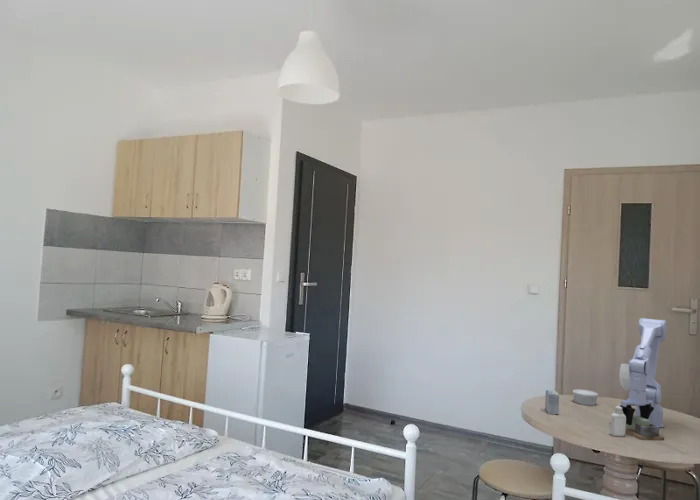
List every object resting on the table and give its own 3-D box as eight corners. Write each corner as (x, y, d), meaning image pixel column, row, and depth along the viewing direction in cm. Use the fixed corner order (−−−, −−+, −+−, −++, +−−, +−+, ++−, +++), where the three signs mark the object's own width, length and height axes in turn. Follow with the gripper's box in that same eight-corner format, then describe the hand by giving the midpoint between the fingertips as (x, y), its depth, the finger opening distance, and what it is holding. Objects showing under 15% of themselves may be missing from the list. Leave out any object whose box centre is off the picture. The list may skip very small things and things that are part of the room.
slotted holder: (631, 424, 216) (632, 414, 216) (664, 440, 198) (664, 428, 198) (609, 424, 215) (610, 413, 215) (640, 439, 197) (640, 427, 197)
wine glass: (636, 410, 240) (638, 365, 240) (634, 414, 234) (637, 367, 234) (618, 407, 244) (620, 362, 244) (616, 410, 238) (618, 365, 238)
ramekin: (575, 405, 244) (575, 393, 244) (569, 399, 255) (569, 388, 255) (600, 407, 242) (601, 396, 242) (593, 401, 253) (594, 390, 253)
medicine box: (558, 415, 225) (559, 394, 225) (547, 413, 226) (548, 393, 226) (555, 410, 232) (556, 390, 233) (544, 409, 233) (545, 389, 234)
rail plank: (628, 425, 212) (628, 412, 212) (649, 433, 202) (650, 420, 202) (622, 425, 211) (623, 413, 211) (643, 433, 201) (644, 420, 201)
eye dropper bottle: (626, 437, 198) (628, 406, 198) (610, 435, 200) (611, 404, 200) (624, 434, 202) (625, 403, 202) (608, 432, 204) (609, 401, 204)
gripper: (643, 386, 213) (641, 420, 212) (615, 387, 208) (613, 421, 208) (658, 391, 206) (656, 425, 206) (629, 391, 202) (628, 427, 201)
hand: (636, 424), depth 206 cm, fingers open, 7 cm apart
